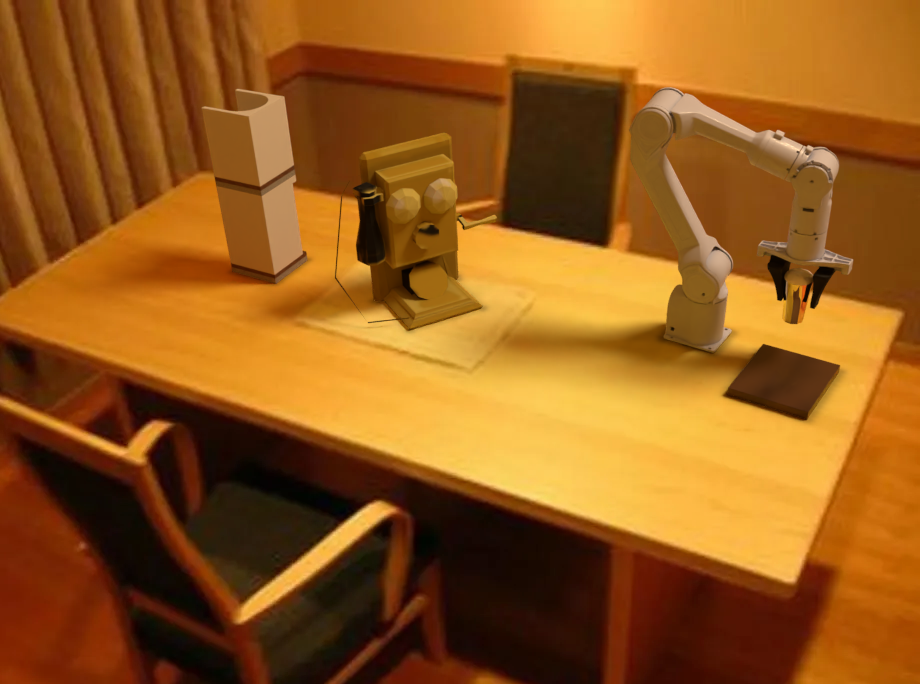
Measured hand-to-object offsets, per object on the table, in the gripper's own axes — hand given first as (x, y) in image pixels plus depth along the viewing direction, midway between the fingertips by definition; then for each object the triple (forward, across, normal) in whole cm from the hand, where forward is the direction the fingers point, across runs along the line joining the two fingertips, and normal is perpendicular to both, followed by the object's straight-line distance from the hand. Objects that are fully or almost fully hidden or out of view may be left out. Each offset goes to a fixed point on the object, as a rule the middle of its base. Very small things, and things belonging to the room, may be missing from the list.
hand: (797, 301), depth 176 cm
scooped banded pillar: (+9, +101, +19) cm, 103 cm away
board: (+10, -2, +9) cm, 14 cm away
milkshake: (+4, 0, 0) cm, 4 cm away
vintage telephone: (+10, +64, +16) cm, 67 cm away
